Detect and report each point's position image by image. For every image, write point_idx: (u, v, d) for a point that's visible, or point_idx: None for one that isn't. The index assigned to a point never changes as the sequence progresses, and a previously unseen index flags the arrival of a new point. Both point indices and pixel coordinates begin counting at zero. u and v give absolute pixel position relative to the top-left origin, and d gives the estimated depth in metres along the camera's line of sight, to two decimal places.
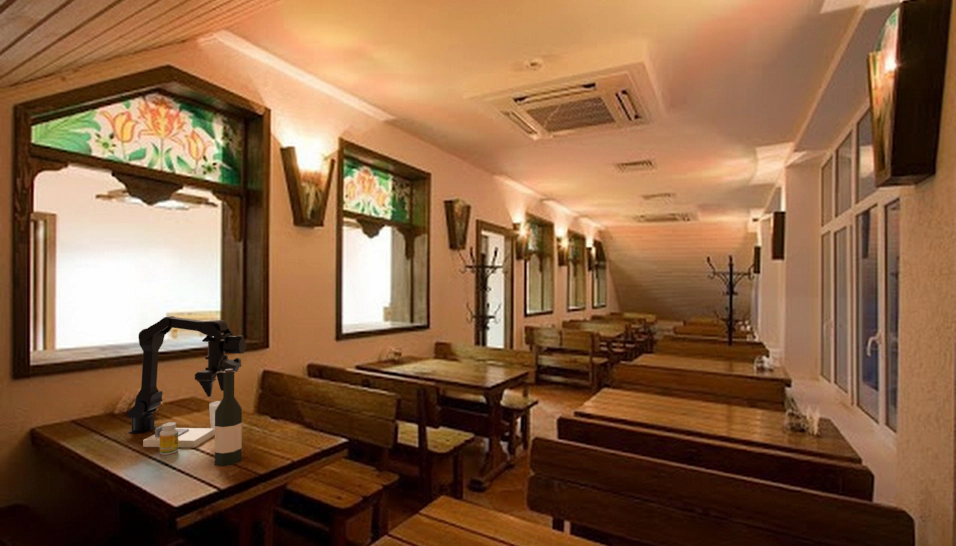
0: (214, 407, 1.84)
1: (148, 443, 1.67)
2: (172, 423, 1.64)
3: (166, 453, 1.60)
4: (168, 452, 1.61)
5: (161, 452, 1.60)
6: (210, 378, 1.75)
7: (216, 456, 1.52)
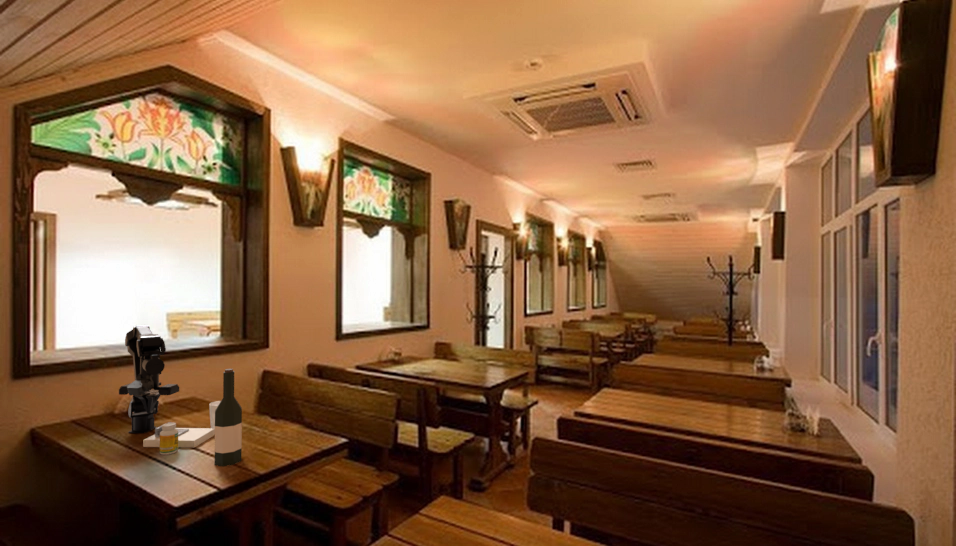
0: (214, 407, 1.84)
1: (148, 443, 1.67)
2: (172, 423, 1.64)
3: (166, 453, 1.60)
4: (168, 452, 1.61)
5: (161, 452, 1.60)
6: (119, 392, 1.71)
7: (216, 456, 1.52)
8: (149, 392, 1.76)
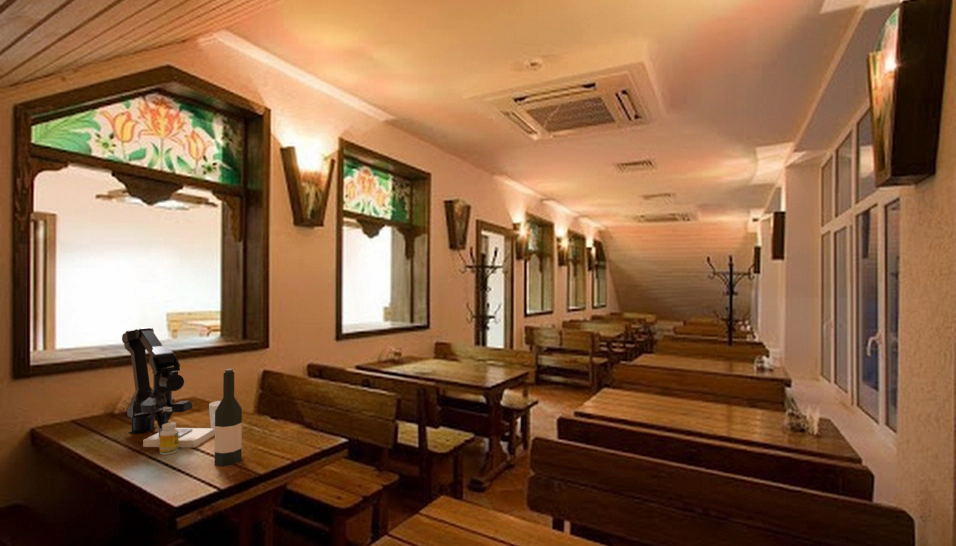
0: (214, 407, 1.84)
1: (148, 443, 1.67)
2: (172, 423, 1.64)
3: (166, 453, 1.60)
4: (168, 452, 1.61)
5: (161, 452, 1.60)
6: (132, 410, 1.71)
7: (216, 456, 1.52)
8: (162, 409, 1.76)
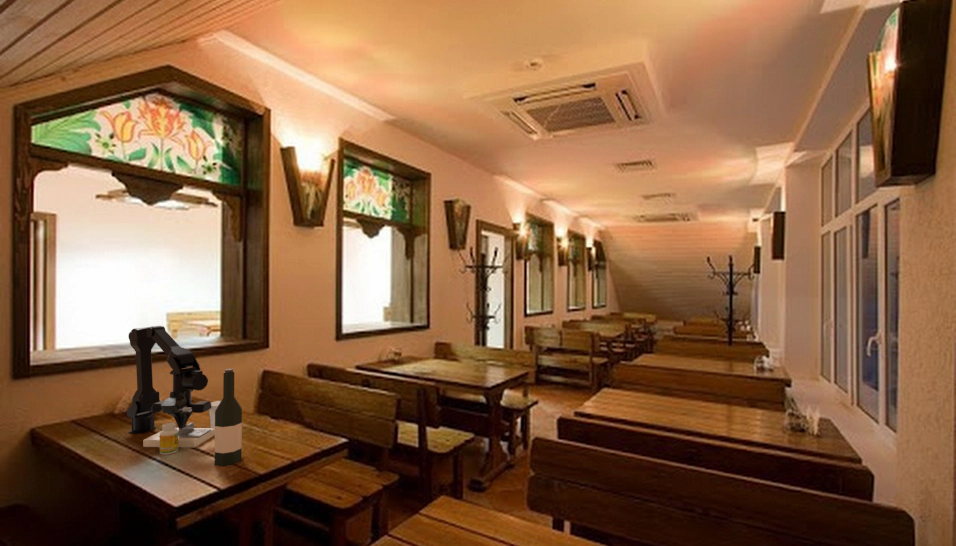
0: (214, 407, 1.84)
1: (148, 443, 1.67)
2: (172, 423, 1.64)
3: (166, 453, 1.60)
4: (168, 452, 1.61)
5: (161, 452, 1.60)
6: (152, 410, 1.71)
7: (216, 456, 1.52)
8: (181, 409, 1.76)
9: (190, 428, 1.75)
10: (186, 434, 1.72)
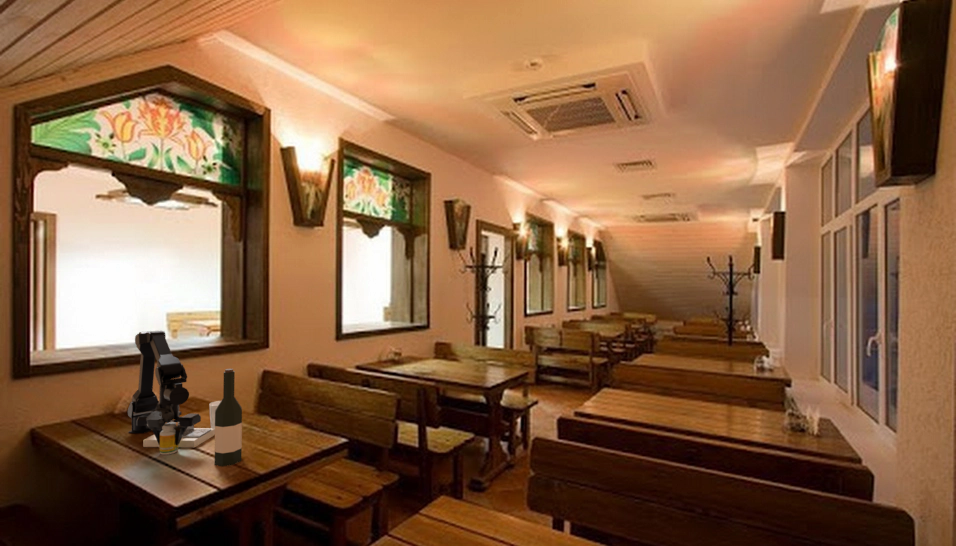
0: (214, 407, 1.84)
1: (148, 443, 1.67)
2: (172, 423, 1.64)
3: (166, 453, 1.60)
4: (168, 452, 1.61)
5: (161, 452, 1.60)
6: (137, 424, 1.60)
7: (216, 456, 1.52)
8: None
9: (190, 428, 1.75)
10: (186, 434, 1.72)
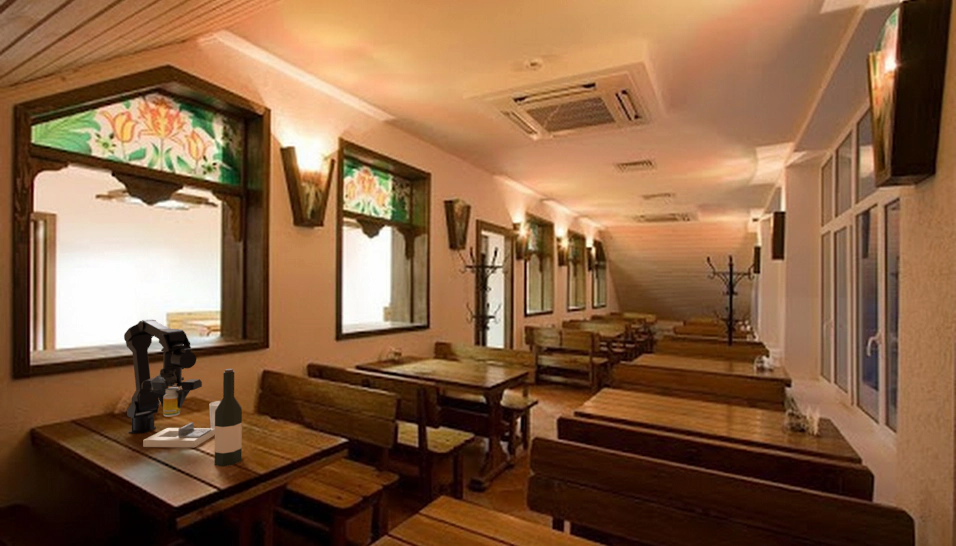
0: (214, 407, 1.84)
1: (148, 443, 1.67)
2: (175, 387, 1.74)
3: (169, 415, 1.71)
4: (171, 414, 1.71)
5: (164, 414, 1.71)
6: (142, 387, 1.70)
7: (216, 456, 1.52)
8: None
9: (190, 428, 1.75)
10: (186, 434, 1.72)
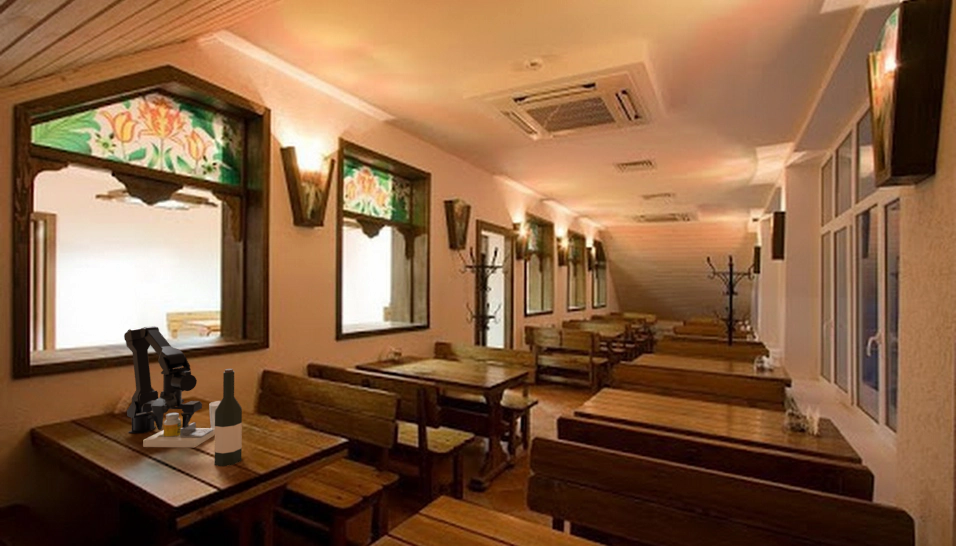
0: (214, 407, 1.84)
1: (148, 443, 1.67)
2: (175, 413, 1.75)
3: None
4: None
5: None
6: (142, 410, 1.71)
7: (216, 456, 1.52)
8: None
9: (192, 428, 1.75)
10: (188, 434, 1.72)
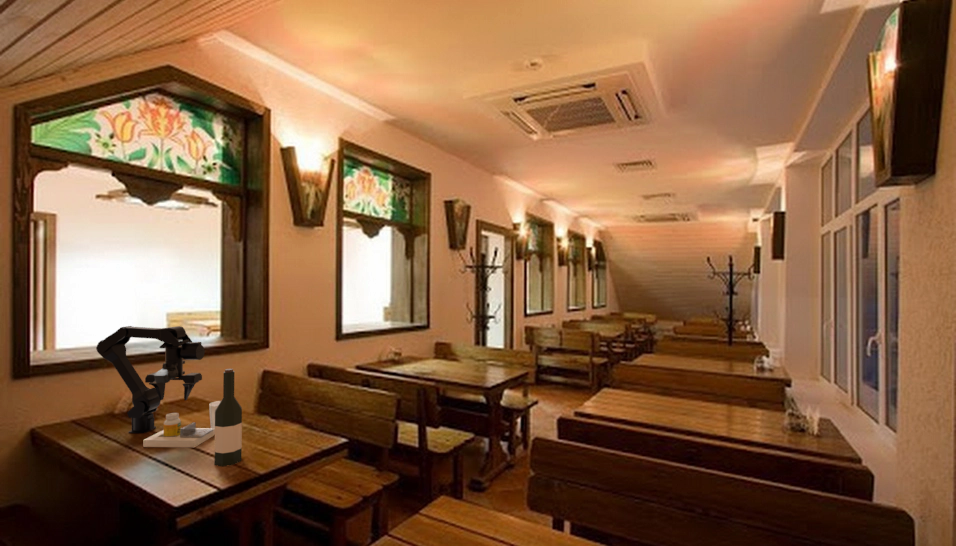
0: (214, 407, 1.84)
1: (148, 443, 1.67)
2: (175, 413, 1.75)
3: None
4: None
5: None
6: (145, 381, 1.81)
7: (216, 456, 1.52)
8: None
9: (192, 428, 1.75)
10: (188, 434, 1.72)
